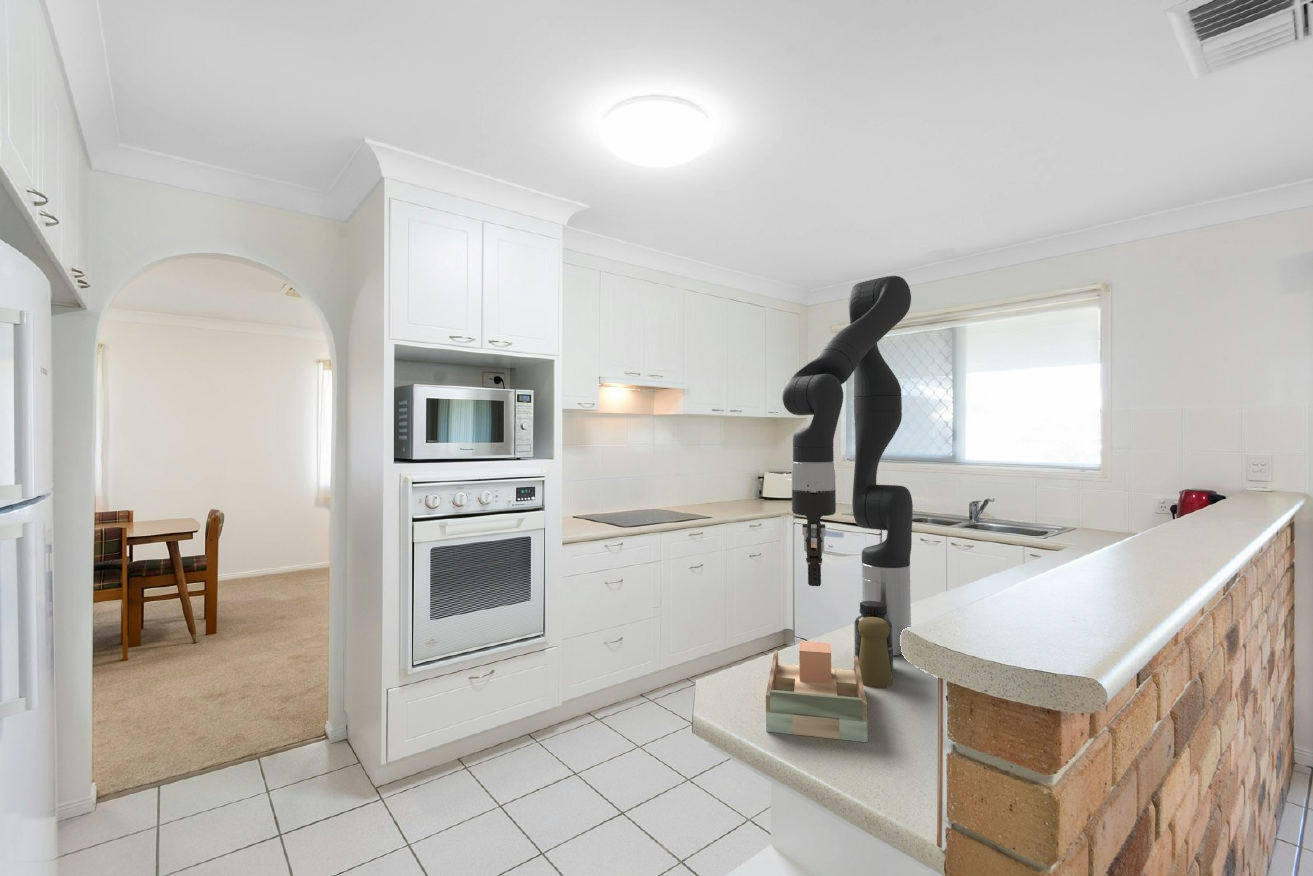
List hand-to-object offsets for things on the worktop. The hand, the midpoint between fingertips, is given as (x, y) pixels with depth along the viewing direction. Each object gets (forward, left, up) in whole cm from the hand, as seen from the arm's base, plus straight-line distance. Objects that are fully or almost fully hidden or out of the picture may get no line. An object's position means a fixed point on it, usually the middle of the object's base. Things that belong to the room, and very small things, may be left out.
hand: (814, 585), depth 109 cm
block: (+7, 0, -14) cm, 15 cm away
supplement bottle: (-8, +11, -17) cm, 22 cm away
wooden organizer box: (+12, 0, -17) cm, 21 cm away
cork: (-2, +10, -17) cm, 20 cm away
